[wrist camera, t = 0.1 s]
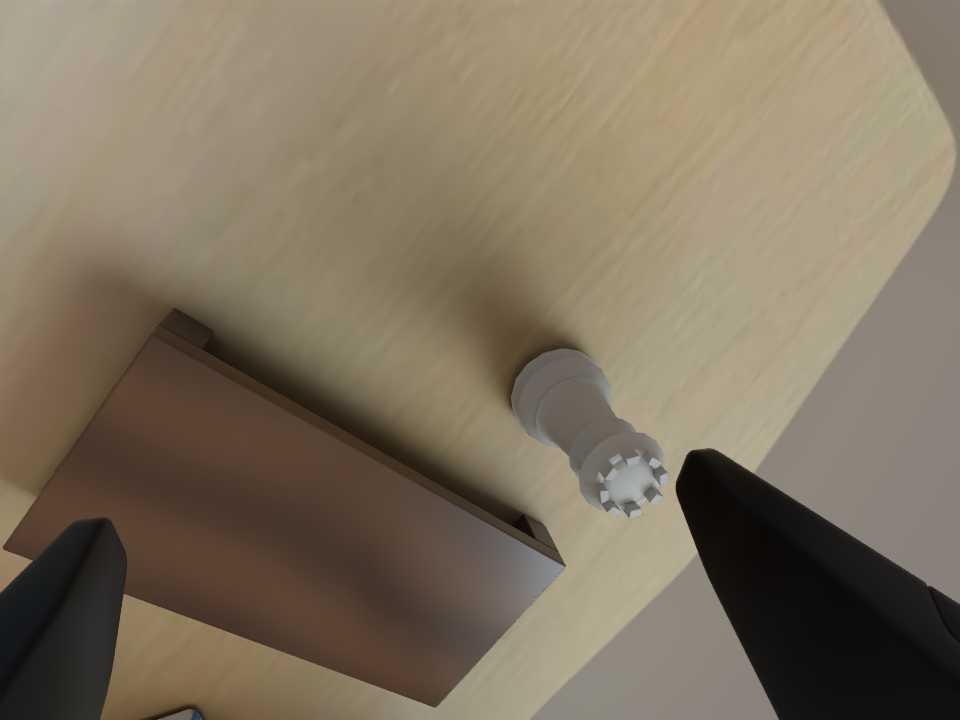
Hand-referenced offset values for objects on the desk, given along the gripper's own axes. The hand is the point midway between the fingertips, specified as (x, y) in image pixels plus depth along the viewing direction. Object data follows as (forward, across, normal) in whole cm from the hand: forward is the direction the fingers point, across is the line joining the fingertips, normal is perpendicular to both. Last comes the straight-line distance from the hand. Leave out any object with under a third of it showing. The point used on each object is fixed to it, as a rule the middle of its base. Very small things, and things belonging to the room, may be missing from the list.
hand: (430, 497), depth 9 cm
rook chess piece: (+14, -8, +10) cm, 18 cm away
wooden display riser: (+12, +3, +15) cm, 19 cm away
